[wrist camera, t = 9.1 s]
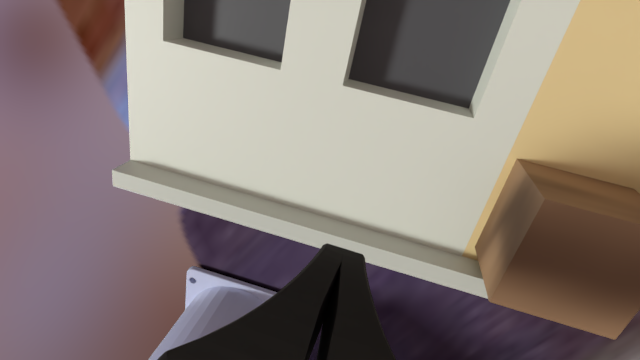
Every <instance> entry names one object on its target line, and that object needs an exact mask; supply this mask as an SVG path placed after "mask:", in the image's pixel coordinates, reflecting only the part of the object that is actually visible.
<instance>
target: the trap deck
mask: <svg viewBox="0 0 640 360" xmlns="http://www.w3.org/2000/svg"><path fill="white" fill-rule="evenodd" d="M125 26H126V54H127V81H128V108H129V135H130V160H129V161H128V162H126V163H124V164H122V165H120V166H118V167H117V168H115V169H113V170H112V179H113V186H114V187H118V188H121V189H124V190H128V191H131V192H134V193H138V194H141V195H145V196H148V197H151V198H154V199H158V200H161V201H164V202H168V203H171V204H175V205H178V206H181V207H184V208H188V209H191V210H194V211H198V212H201V213H204V214H208V215H211V216H214V217H218V218H221V219H224V220H228V221H231V222H234V223H238V224H241V225H244V226H248V227H251V228H254V229H258V230H261V231H264V232H268V233H271V234H274V235H278V236H281V237H284V238H288V239H291V240H294V241H297V242H301V243H304V244H307V245H311V246H314V247H317V248H321V247H322V246H323V245H324V244H326V243H328V244H331V245H334V246H338V247H341V248H344V249H347V250H351V251H354V252H357V253H360V254H363V255H364V257H365V262H367V263H371V264H374V265H377V266H381V267H384V268H387V269H391V270H394V271H397V272H401V273H404V274H407V275H411V276H414V277H417V278H421V279H424V280H427V281H431V282H434V283H437V284H441V285H444V286H447V287H451V288H454V289H457V290H461V291H464V292H467V293H471V294H474V295H477V296H481V297H484V298H487V299H488V296H487V292H486V288H485V284H484V280H483V277H482V273H481V269H480V265H479V261H478V258H477V254H476V250H475V245H476V243H477V241H478V239H479V237H480V235H481V233H482V231H483V228H484V226H485V224H486V222H487V220H488V218H489V216H490V214H491V212H492V210H493V207H494V205H495V203H496V201H497V199H498V197H499V195H500V193H501V191H502V189H503V186H504V184H505V182H506V180H507V178H508V176H509V174H510V172H511V170H512V167H513V165H514V163H515V161H516V159H521V160H524V161H528V162H532V163H536V164H540V165H544V166H548V167H552V168H555V169H559V170H563V171H567V172H571V173H575V174H579V175H583V176H587V177H590V178H594V179H598V180H602V181H606V182H610V183H614V184H618V185H621V186H625V187H629V188H633V189H635V190H636V191H637V192H638V193H640V0H125Z"/></svg>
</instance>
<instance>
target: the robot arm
mask: <svg viewBox="0 0 640 360" xmlns="http://www.w3.org/2000/svg"><path fill="white" fill-rule="evenodd" d="M193 278H194V279H193ZM322 324H323V326H322ZM321 327H322V332H321V338H320V344H319V349H318V355H317V360H396V359H395V357H394V355H393V353H392V350H391V348H390V346H389V344H388V341H387V339H386V337H385V334H384V332H383V329H382V327H381V324H380V321H379V318H378V315H377V312H376V309H375V306H374V302H373V299H372V295H371V291H370V287H369V283H368V278H367V273H366V266H365V257H364V255H363V254H360V253H357V252H354V251H351V250H347V249H344V248H341V247H338V246H334V245H331V244H328V243H326V244H324V245H323V246H322V247H321V249H320V250H319V252H318V253H317V255H316V256H315V257H314V258H313V259H312V260H311V262H310V263H309V264H308V265H307V266H306V267H305V268H304V269H303V270H302V271H301V272H300V273H299V274H298V275H297V276H296V277H295V278H294V279H293V280H291V281H290V282H289V283H288V284H287V285H286V286H284V287H283V288H282V289H281V290H280V291H279V292H274V291H271V290H268V289H265V288H262V287H259V286H256V285H252V284H249V283H246V282H243V281H240V280H237V279H233V278H230V277H227V276H224V275H221V274H218V273H215V272H211V271H208V270H205V269H202V268H199V267H195V266H192V267H190V268H189V270H188V271H187V281H186V304H185V311H184V313H183V314H182V315H181V316H180V318H179V319H178V321H177V322H176V323H175V325H174V326H173V327H172V329H171V330H170V331H169V333H168V334H167V335H166V337H165V338H164V339H163V341H162V342H161V344H160V345H159V346H158V347H157V349H156V350H155V351H154V353H153V354H152V355H151V357H150V358H149V359H148V360H309V357H310V355H311V352H312V350H313V347H314V344H315V342H316V339H317V337H318V334H319V332H320V329H321Z"/></svg>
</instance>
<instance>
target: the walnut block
mask: <svg viewBox="0 0 640 360" xmlns="http://www.w3.org/2000/svg"><path fill="white" fill-rule="evenodd" d="M475 250H476V254H477V258H478V261H479V265H480V269H481V273H482V277H483V280H484V284H485V288H486V292H487V296H488V299H489V302H491V303H495V304H498V305H501V306H505V307H508V308H511V309H515V310H518V311H521V312H525V313H528V314H531V315H535V316H538V317H541V318H545V319H548V320H551V321H555V322H558V323H561V324H565V325H568V326H571V327H575V328H578V329H581V330H585V331H588V332H591V333H595V334H598V335H601V336H605V337H608V338H611V339H614V340H615V339H616V338H617V337H618V336H619V334H620V333H621V332H622V331H623V329H624V328H625V327H626V326H627V324H628V323H629V322H630V321H631V319H632V318H633V317H634V316H635V314H636V313H637V312H638V311H639V309H640V193H638V192H637V191H636V190H635V189H633V188H629V187H625V186H621V185H618V184H614V183H610V182H606V181H602V180H598V179H594V178H590V177H587V176H583V175H579V174H575V173H571V172H567V171H563V170H559V169H555V168H552V167H548V166H544V165H540V164H536V163H532V162H528V161H524V160H521V159H516V161H515V163H514V165H513V167H512V170H511V172H510V174H509V176H508V178H507V180H506V182H505V184H504V186H503V189H502V191H501V193H500V195H499V197H498V199H497V201H496V203H495V205H494V207H493V210H492V212H491V214H490V216H489V218H488V220H487V222H486V224H485V226H484V228H483V231H482V233H481V235H480V237H479V239H478V241H477V243H476V245H475Z"/></svg>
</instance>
